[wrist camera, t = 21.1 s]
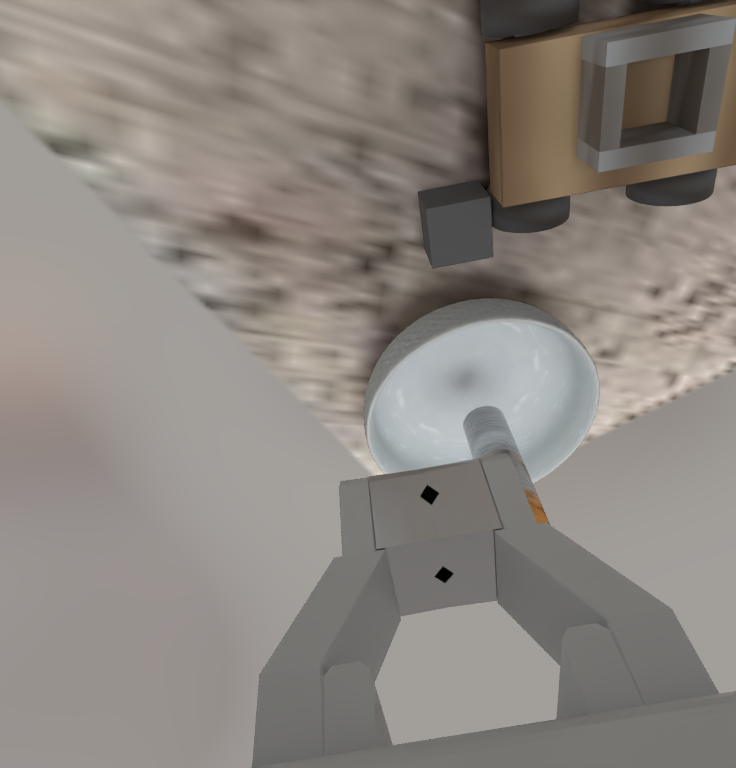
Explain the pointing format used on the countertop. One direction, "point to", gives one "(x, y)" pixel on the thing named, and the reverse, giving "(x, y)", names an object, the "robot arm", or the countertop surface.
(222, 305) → the countertop surface
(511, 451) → the grey and orange cylinder
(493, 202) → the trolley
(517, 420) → the cereal bowl
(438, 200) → the dark grey cube
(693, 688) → the robot arm
